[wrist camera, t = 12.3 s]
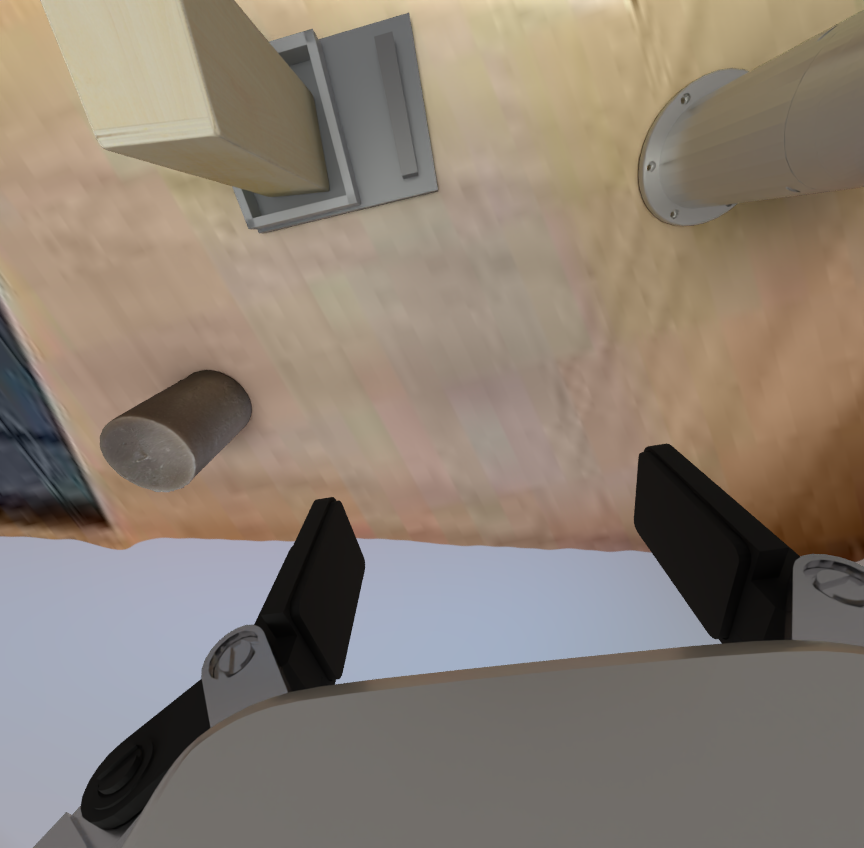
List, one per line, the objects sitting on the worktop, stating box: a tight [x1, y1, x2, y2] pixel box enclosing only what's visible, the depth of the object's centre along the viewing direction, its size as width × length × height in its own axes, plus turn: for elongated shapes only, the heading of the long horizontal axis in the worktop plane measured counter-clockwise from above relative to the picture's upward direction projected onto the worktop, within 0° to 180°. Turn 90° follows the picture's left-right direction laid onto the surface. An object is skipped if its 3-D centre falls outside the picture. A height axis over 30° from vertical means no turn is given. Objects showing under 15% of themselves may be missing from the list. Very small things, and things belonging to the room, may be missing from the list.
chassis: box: [232, 13, 438, 233], centre depth 34 cm, size 20×13×4 cm, turn 101°
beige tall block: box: [40, 0, 329, 197], centre depth 26 cm, size 8×7×21 cm
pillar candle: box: [100, 370, 252, 492], centre depth 43 cm, size 10×10×15 cm
